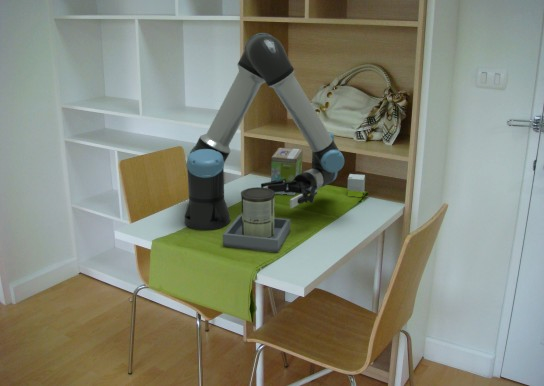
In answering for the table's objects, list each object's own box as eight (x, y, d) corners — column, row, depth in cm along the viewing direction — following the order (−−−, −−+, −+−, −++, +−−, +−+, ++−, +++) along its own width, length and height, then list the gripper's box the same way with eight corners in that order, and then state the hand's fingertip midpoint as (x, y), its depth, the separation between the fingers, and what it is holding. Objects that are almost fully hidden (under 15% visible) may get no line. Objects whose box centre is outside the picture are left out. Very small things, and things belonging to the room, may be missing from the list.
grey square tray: (223, 246, 170) (222, 234, 169) (239, 225, 186) (239, 214, 184) (277, 252, 166) (278, 240, 165) (290, 230, 182) (290, 219, 180)
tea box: (296, 196, 213) (296, 158, 209) (270, 194, 215) (270, 156, 210) (302, 183, 227) (302, 148, 222) (277, 182, 229) (277, 146, 224)
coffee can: (236, 232, 178) (235, 190, 173) (265, 226, 182) (265, 185, 178) (250, 244, 169) (249, 200, 164) (280, 238, 174) (281, 195, 169)
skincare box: (364, 192, 217) (365, 174, 215) (362, 198, 212) (364, 179, 209) (348, 191, 219) (349, 173, 216) (346, 196, 213) (347, 178, 211)
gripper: (339, 199, 189) (306, 219, 173) (277, 185, 203) (241, 202, 186) (340, 178, 187) (306, 196, 170) (278, 165, 200) (241, 181, 184)
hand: (272, 199), depth 178 cm, fingers open, 13 cm apart
